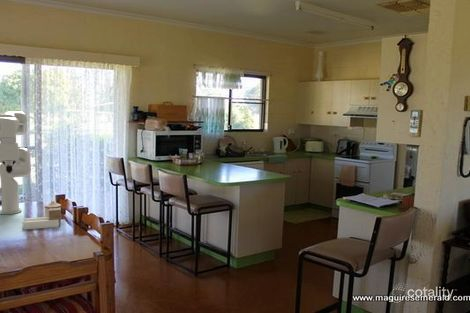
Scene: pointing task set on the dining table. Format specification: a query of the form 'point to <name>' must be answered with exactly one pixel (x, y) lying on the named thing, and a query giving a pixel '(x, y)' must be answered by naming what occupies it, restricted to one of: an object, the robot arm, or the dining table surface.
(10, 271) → the dining table surface
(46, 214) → the teacup with lid
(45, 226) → the cream rectangular tray
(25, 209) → the dining table surface
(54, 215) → the walnut block
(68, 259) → the dining table surface
